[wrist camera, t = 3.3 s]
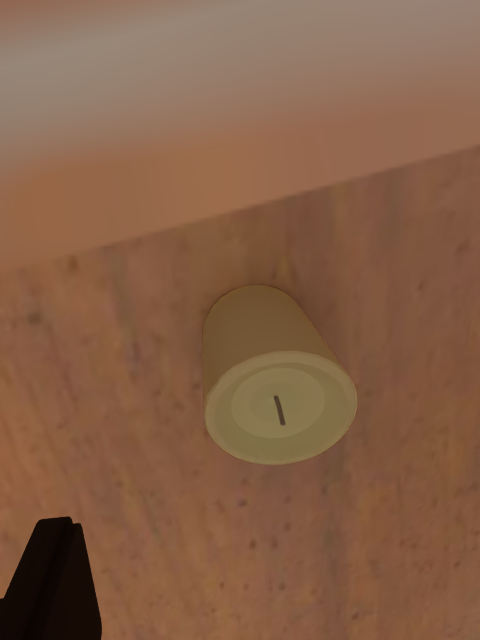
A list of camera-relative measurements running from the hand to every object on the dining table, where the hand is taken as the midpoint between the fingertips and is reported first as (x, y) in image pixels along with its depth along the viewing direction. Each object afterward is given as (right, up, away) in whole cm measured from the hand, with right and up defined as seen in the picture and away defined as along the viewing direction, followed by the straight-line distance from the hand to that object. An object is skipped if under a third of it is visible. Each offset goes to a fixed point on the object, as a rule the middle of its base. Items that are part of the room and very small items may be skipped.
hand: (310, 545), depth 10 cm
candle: (-1, +4, +12) cm, 13 cm away
